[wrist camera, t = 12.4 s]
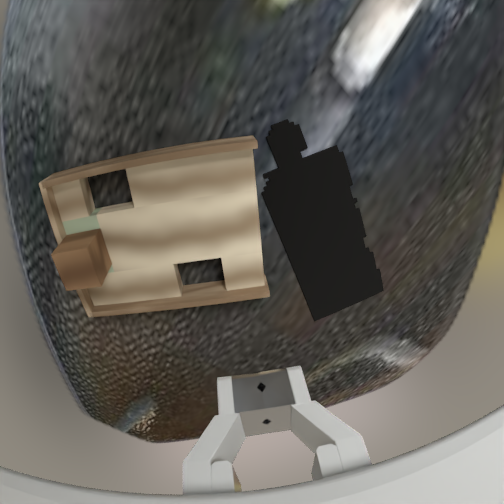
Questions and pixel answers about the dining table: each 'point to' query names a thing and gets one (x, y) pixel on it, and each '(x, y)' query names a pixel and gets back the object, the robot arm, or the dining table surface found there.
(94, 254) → the block
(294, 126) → the black flat board
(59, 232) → the box
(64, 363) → the dining table surface
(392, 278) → the dining table surface
